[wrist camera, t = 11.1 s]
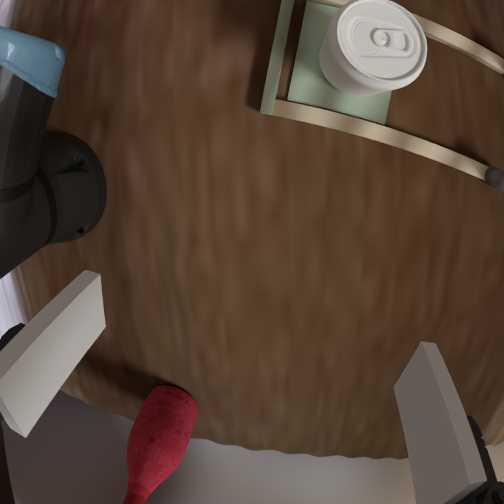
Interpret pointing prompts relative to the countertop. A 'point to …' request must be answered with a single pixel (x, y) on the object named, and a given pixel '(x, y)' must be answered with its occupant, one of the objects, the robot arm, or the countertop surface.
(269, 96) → the bay
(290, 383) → the countertop surface
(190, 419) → the wine bottle
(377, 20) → the beverage can
